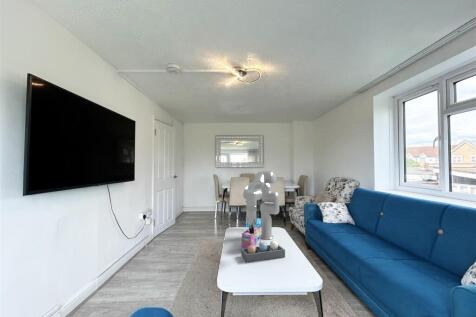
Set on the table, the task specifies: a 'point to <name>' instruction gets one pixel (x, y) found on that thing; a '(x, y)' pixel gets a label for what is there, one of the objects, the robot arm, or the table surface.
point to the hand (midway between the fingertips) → (251, 233)
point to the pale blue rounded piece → (263, 247)
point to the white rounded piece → (273, 245)
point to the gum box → (251, 238)
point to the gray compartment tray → (262, 254)
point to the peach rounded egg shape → (251, 249)
